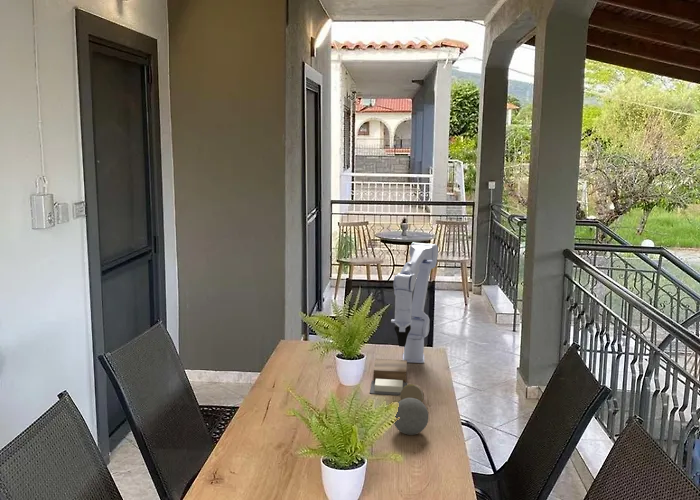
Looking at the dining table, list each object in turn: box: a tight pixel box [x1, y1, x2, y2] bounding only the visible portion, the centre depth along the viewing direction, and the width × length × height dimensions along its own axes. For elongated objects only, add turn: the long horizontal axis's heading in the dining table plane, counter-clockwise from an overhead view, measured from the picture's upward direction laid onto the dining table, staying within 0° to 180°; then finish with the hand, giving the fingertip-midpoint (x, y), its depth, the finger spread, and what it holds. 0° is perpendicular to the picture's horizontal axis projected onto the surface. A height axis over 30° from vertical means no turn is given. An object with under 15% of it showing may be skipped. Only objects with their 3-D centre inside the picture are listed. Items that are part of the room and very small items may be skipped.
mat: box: [369, 380, 408, 396], centre depth 215 cm, size 11×12×1 cm
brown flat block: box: [372, 358, 408, 383], centre depth 226 cm, size 12×11×4 cm
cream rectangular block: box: [375, 379, 403, 393], centre depth 214 cm, size 6×9×2 cm, turn 85°
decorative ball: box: [393, 398, 429, 436], centre depth 182 cm, size 10×10×10 cm
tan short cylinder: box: [399, 383, 425, 403], centre depth 203 cm, size 8×10×10 cm
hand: (401, 346), depth 228 cm, fingers closed
